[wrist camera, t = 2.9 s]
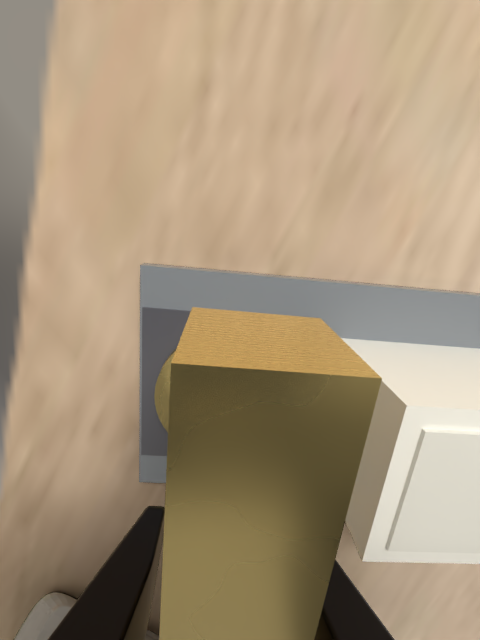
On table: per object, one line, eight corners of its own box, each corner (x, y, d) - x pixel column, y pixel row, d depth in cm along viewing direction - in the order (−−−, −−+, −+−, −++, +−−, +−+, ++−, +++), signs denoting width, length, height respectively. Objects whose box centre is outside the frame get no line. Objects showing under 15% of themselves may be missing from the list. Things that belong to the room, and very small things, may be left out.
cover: (519, 351, 13) (690, 425, 9) (478, 457, 15) (602, 571, 10) (338, 337, 13) (410, 409, 8) (316, 449, 14) (364, 566, 9)
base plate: (525, 297, 13) (541, 301, 13) (456, 485, 16) (466, 496, 16) (144, 263, 12) (139, 265, 11) (142, 472, 15) (138, 483, 14)
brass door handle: (272, 497, 15) (340, 875, 6) (154, 492, 15) (51, 890, 6) (311, 268, 12) (554, 390, 3) (161, 253, 11) (-39, 347, 3)
